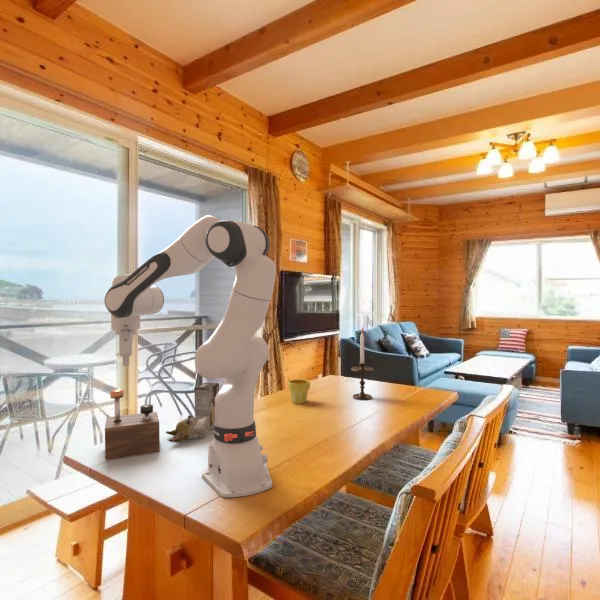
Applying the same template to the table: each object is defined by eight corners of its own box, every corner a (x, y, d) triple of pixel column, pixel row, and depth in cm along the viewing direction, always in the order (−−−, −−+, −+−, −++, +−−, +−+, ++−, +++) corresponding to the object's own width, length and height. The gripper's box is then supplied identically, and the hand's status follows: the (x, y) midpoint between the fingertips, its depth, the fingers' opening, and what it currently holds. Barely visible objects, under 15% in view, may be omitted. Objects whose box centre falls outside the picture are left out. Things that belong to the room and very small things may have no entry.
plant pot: (314, 400, 192) (314, 380, 192) (302, 406, 184) (302, 384, 183) (295, 398, 198) (295, 378, 198) (283, 402, 189) (283, 382, 189)
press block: (159, 451, 132) (159, 421, 132) (105, 460, 126) (104, 428, 125) (157, 439, 143) (156, 411, 143) (106, 446, 137) (106, 417, 136)
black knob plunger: (153, 445, 135) (153, 407, 135) (141, 447, 134) (140, 408, 133) (153, 441, 139) (152, 404, 138) (140, 443, 137) (140, 405, 137)
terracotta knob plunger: (124, 431, 131) (123, 391, 131) (110, 433, 130) (110, 392, 130) (124, 427, 135) (123, 388, 135) (111, 429, 133) (110, 390, 133)
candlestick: (357, 393, 205) (357, 324, 204) (377, 397, 199) (377, 325, 198) (347, 398, 196) (346, 326, 196) (367, 401, 190) (367, 327, 189)
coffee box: (204, 422, 162) (204, 382, 162) (219, 423, 161) (219, 382, 160) (194, 429, 153) (194, 387, 153) (210, 430, 152) (209, 388, 152)
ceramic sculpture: (211, 415, 141) (167, 424, 136) (213, 440, 142) (169, 449, 136) (206, 408, 151) (164, 415, 145) (207, 431, 152) (166, 439, 146)
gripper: (136, 326, 125) (136, 371, 125) (135, 321, 144) (136, 359, 144) (114, 327, 122) (114, 372, 123) (116, 321, 141) (116, 360, 142)
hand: (126, 365), depth 133 cm, fingers closed
